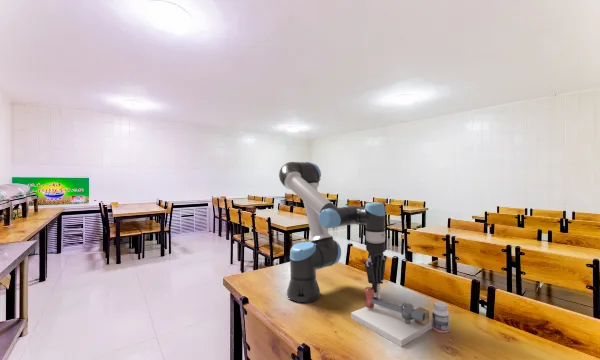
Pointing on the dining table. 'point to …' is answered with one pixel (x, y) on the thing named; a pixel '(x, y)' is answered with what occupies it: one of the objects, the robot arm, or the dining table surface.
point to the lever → (394, 306)
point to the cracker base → (390, 324)
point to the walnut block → (425, 316)
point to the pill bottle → (440, 317)
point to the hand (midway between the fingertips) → (376, 299)
